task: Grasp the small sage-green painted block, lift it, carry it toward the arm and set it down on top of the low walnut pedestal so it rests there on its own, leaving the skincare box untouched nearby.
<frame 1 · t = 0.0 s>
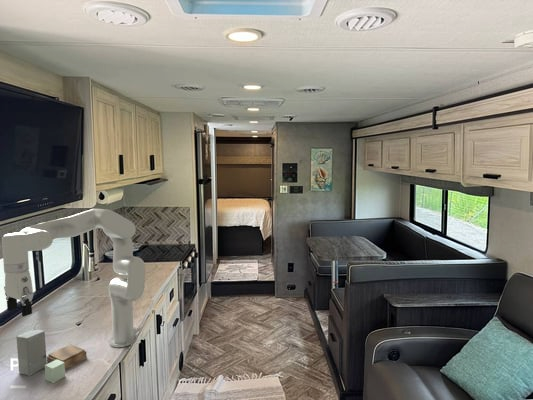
hand: (19, 312, 136), 31 cm above the counter, fingers open, 9 cm apart
walnut pedestal: (67, 360, 160), on the counter
skincare box: (33, 369, 154), on the counter
sage block: (55, 377, 148), on the counter
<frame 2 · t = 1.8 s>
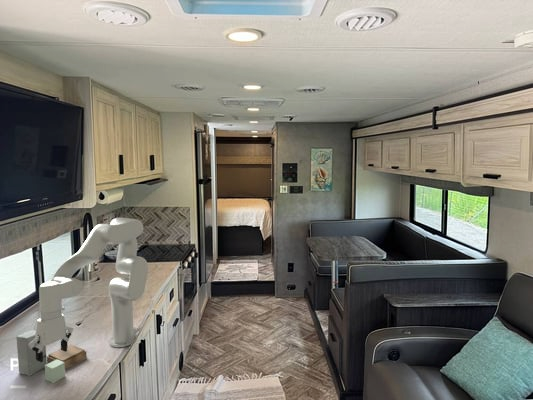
hand: (52, 355, 146), 10 cm above the counter, fingers open, 9 cm apart
nothing on the counter moved.
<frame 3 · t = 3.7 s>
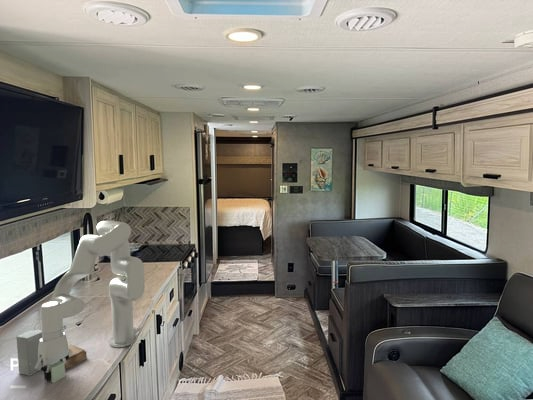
hand: (55, 376, 148), 1 cm above the counter, fingers closed on sage block, 5 cm apart
sage block: (55, 377, 148), on the counter, touching gripper
everything else where it was.
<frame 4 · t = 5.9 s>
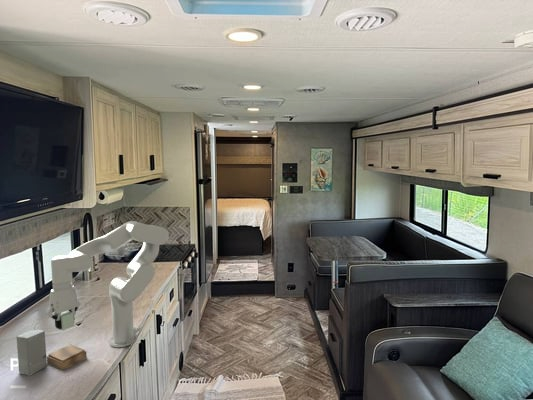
hand: (65, 325, 159), 16 cm above the counter, fingers closed on sage block, 5 cm apart
sage block: (65, 326, 159), point 15 cm above the counter, touching gripper
everything else where it was.
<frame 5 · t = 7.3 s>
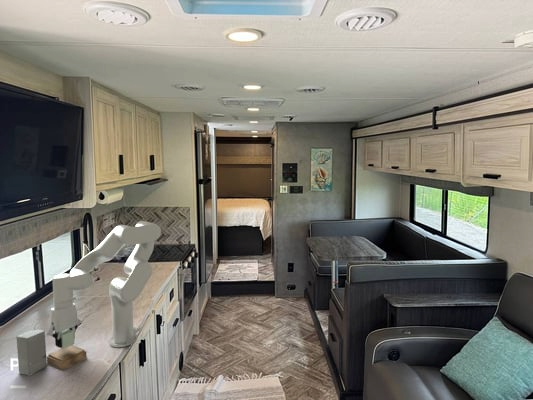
hand: (65, 343, 159), 8 cm above the counter, fingers closed on sage block, 5 cm apart
sage block: (65, 345, 159), point 7 cm above the counter, touching gripper
everything else where it was.
when the fingers open (6 cm above the counter, at t = 8.5 s): sage block drops 1 cm, resting on walnut pedestal.
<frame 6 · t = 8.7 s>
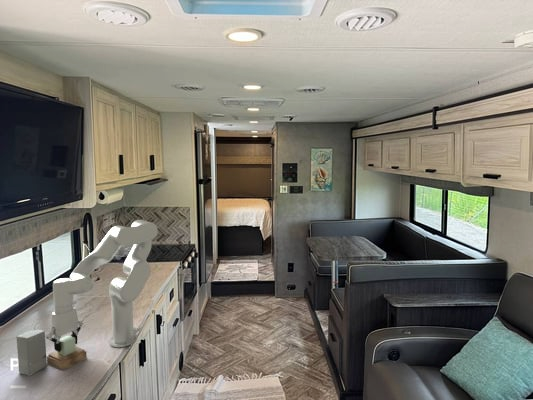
hand: (66, 346, 160), 6 cm above the counter, fingers open, 6 cm apart
sage block: (66, 351, 160), point 4 cm above the counter, touching walnut pedestal
everything else where it was.
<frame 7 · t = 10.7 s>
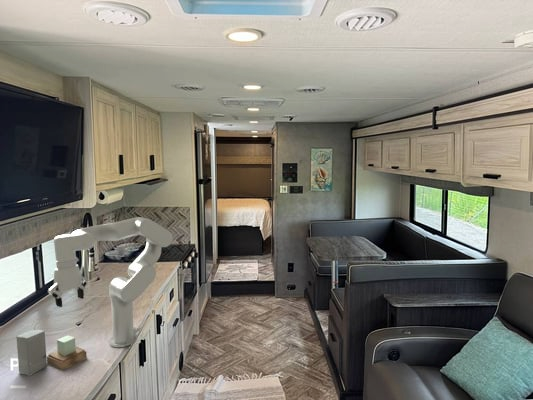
hand: (70, 302, 159), 26 cm above the counter, fingers open, 9 cm apart
nothing on the counter moved.
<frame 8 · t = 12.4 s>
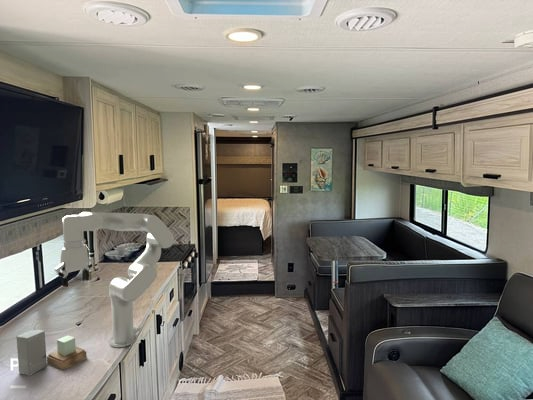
hand: (76, 282, 159), 34 cm above the counter, fingers open, 9 cm apart
nothing on the counter moved.
at the end: sage block inside the target area on the walnut pedestal (0.1 cm from its centre), point 4.0 cm above the walnut pedestal's base; sage block tilted 0°; the gripper is holding nothing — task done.
